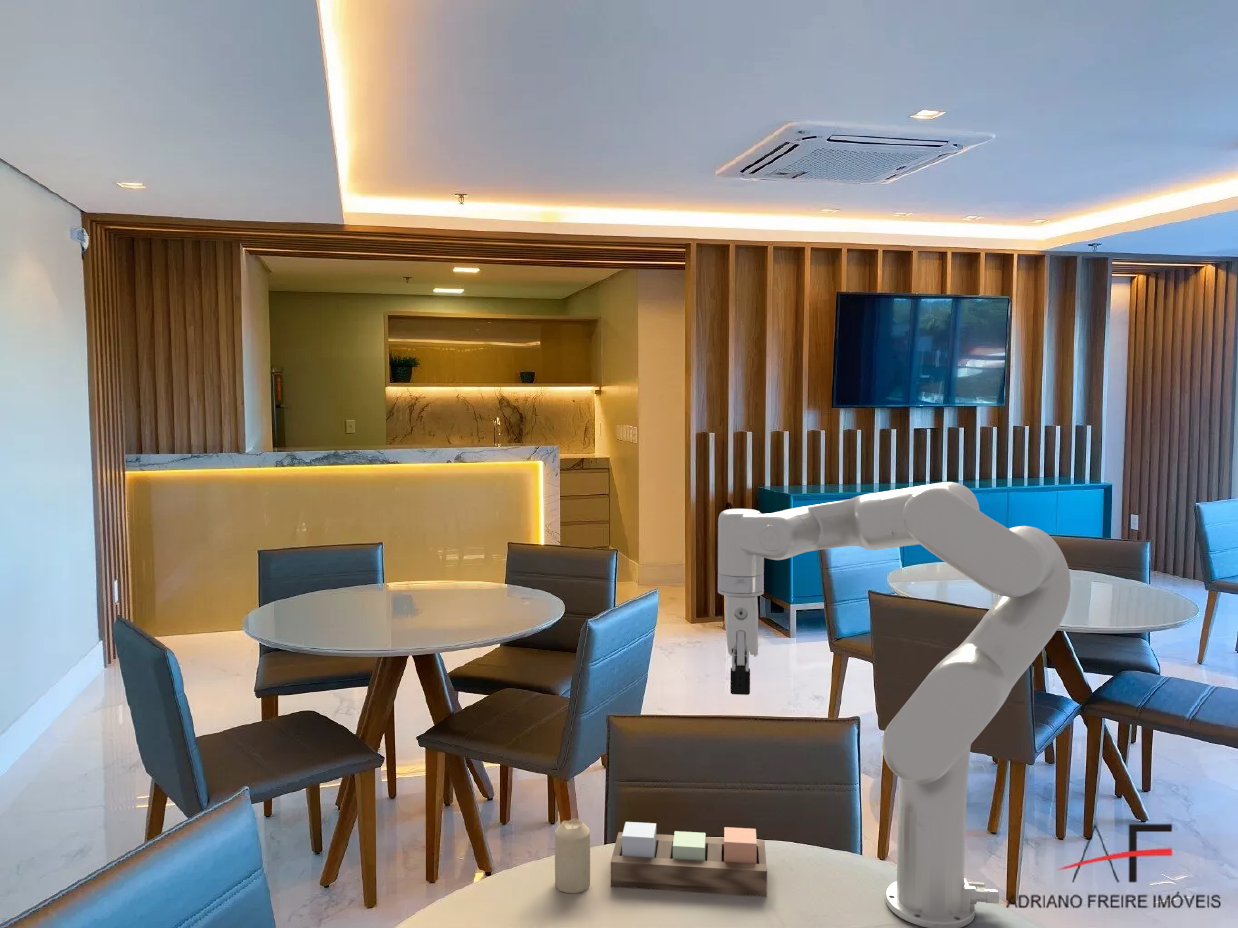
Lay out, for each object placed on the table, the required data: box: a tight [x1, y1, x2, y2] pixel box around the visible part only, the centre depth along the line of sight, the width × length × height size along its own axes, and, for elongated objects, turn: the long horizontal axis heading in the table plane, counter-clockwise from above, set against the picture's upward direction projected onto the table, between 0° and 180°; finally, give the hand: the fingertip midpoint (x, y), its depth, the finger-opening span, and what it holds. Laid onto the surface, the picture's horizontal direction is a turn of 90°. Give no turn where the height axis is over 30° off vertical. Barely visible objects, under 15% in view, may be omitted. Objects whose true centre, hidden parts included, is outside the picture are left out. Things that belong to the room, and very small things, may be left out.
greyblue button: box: [622, 821, 657, 858], centre depth 144 cm, size 5×5×4 cm
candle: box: [554, 817, 591, 894], centre depth 140 cm, size 6×6×10 cm
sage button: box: [673, 830, 707, 861], centre depth 143 cm, size 5×5×4 cm
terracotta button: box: [723, 826, 757, 864], centre depth 142 cm, size 5×5×4 cm
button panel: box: [610, 831, 768, 898], centre depth 143 cm, size 24×10×4 cm, turn 83°
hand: (740, 692), depth 150 cm, fingers closed
